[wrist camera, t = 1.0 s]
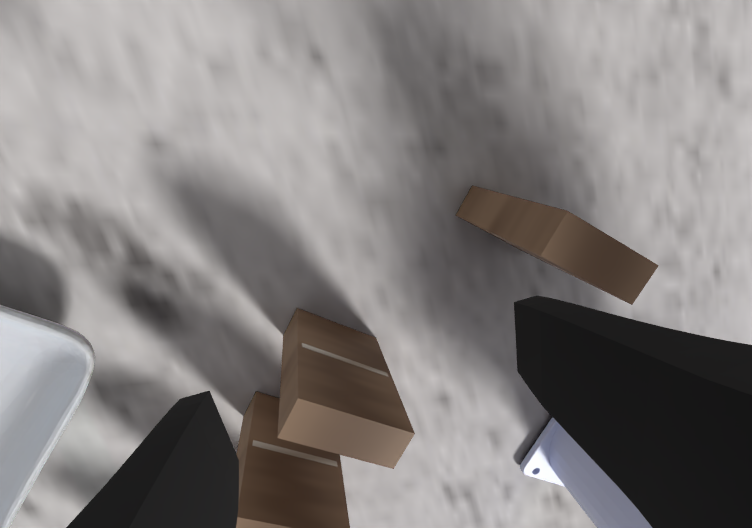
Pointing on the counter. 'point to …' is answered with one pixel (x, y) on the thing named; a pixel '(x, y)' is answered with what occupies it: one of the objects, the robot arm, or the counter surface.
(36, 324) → the salad plate
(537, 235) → the domino
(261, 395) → the domino
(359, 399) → the domino
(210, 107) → the counter surface
